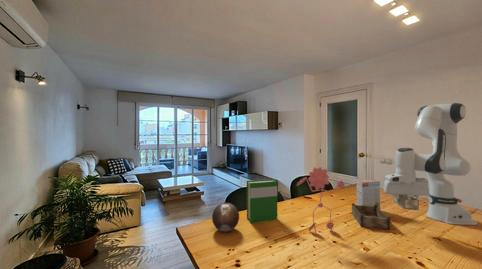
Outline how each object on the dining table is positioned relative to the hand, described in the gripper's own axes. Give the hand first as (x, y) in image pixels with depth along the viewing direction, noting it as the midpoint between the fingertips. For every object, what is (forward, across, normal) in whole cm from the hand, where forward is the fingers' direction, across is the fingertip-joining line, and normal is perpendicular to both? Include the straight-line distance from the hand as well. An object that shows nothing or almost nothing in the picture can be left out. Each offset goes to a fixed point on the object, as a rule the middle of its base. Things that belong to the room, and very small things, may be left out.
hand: (405, 202), depth 115 cm
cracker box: (+16, +11, -28) cm, 33 cm away
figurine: (+15, +47, +12) cm, 50 cm away
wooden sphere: (+14, +97, +26) cm, 101 cm away
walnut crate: (+15, +16, -9) cm, 23 cm away
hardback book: (+14, +80, +6) cm, 81 cm away
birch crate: (+2, 0, 0) cm, 2 cm away
